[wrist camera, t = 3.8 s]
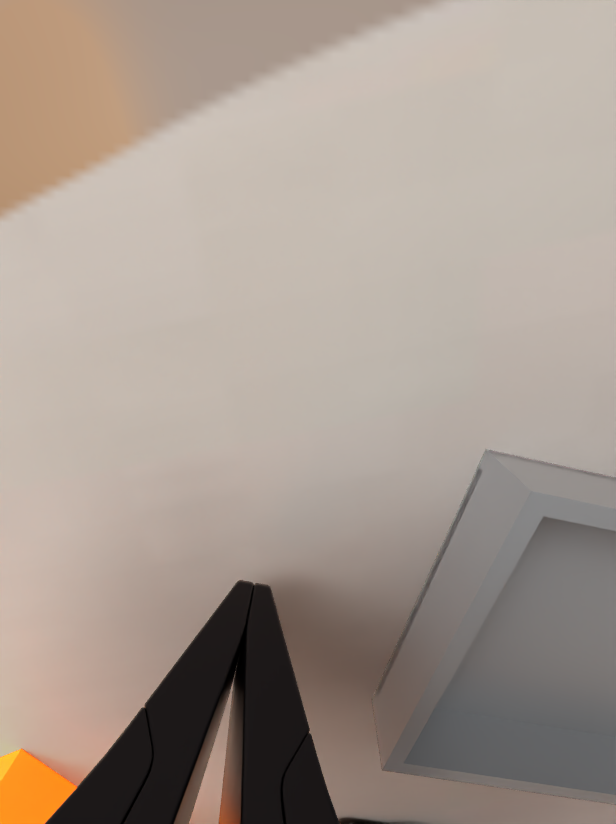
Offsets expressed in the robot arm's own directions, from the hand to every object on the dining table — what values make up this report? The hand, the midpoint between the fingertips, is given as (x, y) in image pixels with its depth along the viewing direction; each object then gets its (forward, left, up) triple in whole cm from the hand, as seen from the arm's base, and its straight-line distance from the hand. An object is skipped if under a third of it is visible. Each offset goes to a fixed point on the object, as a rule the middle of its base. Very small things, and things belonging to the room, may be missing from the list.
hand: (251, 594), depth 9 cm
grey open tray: (0, -12, -1) cm, 12 cm away
